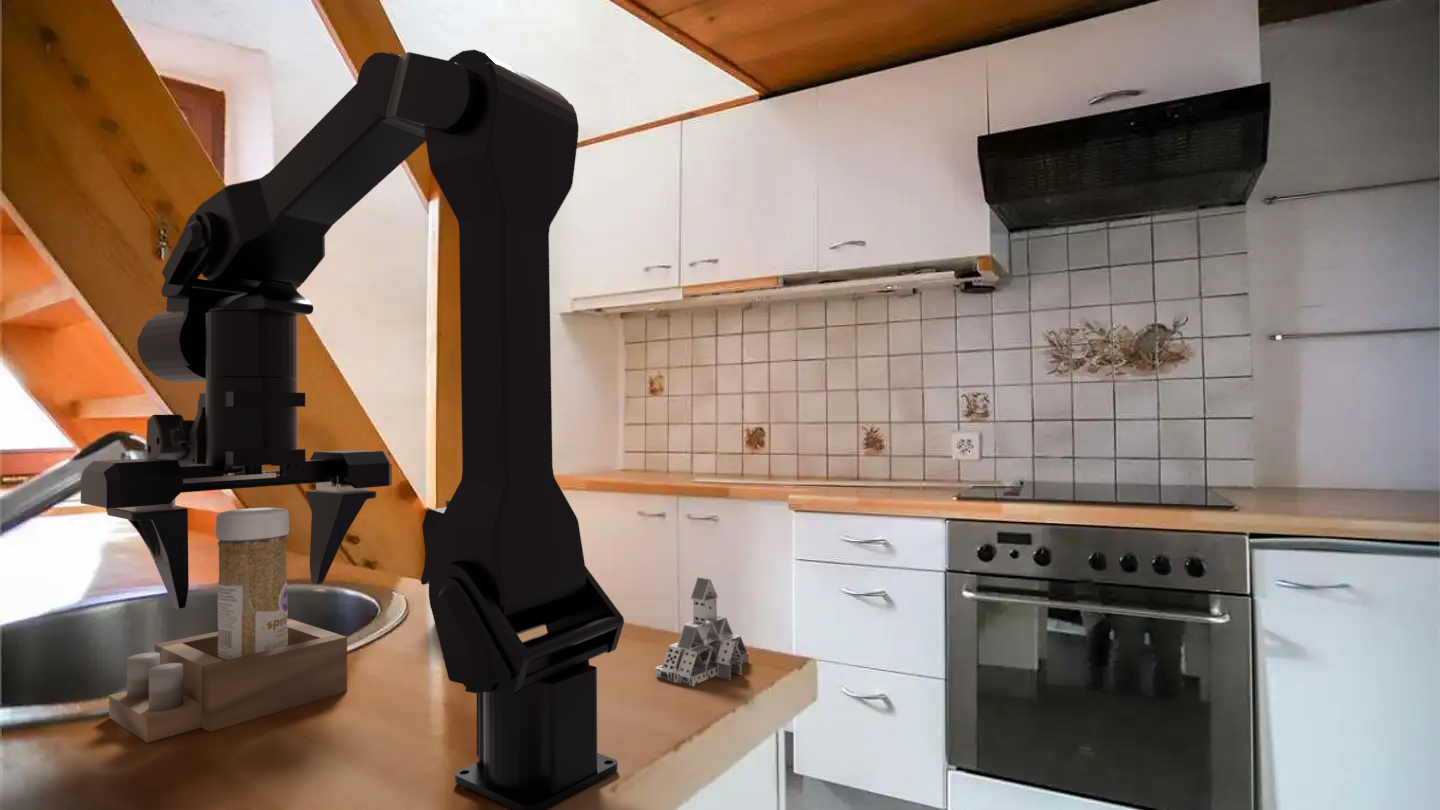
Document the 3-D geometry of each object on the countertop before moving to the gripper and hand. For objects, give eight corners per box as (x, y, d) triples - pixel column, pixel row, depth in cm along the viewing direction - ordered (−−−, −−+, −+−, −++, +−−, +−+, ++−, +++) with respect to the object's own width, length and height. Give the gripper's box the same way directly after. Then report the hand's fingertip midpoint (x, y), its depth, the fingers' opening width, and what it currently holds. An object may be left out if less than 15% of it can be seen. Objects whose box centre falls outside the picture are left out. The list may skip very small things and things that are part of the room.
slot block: (347, 691, 57) (347, 636, 58) (154, 748, 48) (154, 682, 48) (286, 667, 63) (286, 617, 63) (102, 713, 54) (103, 654, 54)
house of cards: (729, 718, 53) (728, 604, 53) (637, 690, 58) (636, 587, 58) (802, 681, 60) (801, 580, 60) (713, 659, 65) (712, 567, 65)
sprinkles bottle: (292, 699, 56) (292, 510, 56) (216, 713, 54) (216, 515, 54) (286, 681, 60) (285, 504, 60) (214, 693, 57) (215, 509, 58)
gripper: (325, 385, 69) (325, 563, 69) (55, 379, 54) (55, 605, 54) (395, 381, 63) (396, 577, 62) (109, 372, 48) (109, 630, 47)
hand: (252, 594), depth 57 cm, fingers open, 9 cm apart
